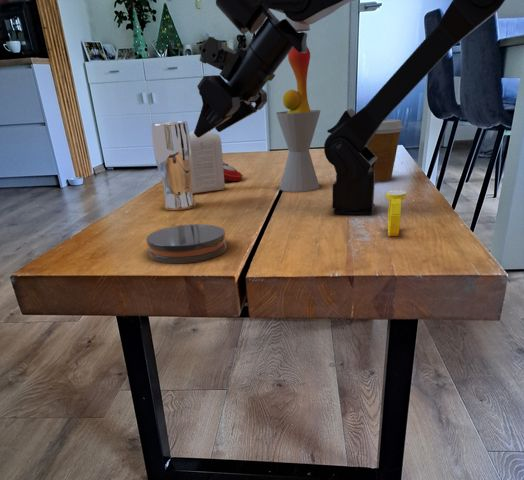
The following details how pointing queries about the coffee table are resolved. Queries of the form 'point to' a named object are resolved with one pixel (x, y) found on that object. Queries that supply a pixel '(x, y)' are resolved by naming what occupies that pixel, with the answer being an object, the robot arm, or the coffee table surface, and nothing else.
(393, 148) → the disposable coffee cup
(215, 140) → the photo printer
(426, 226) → the coffee table surface
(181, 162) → the beer glass
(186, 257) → the coaster stack
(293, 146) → the lava lamp
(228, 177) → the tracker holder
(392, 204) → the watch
